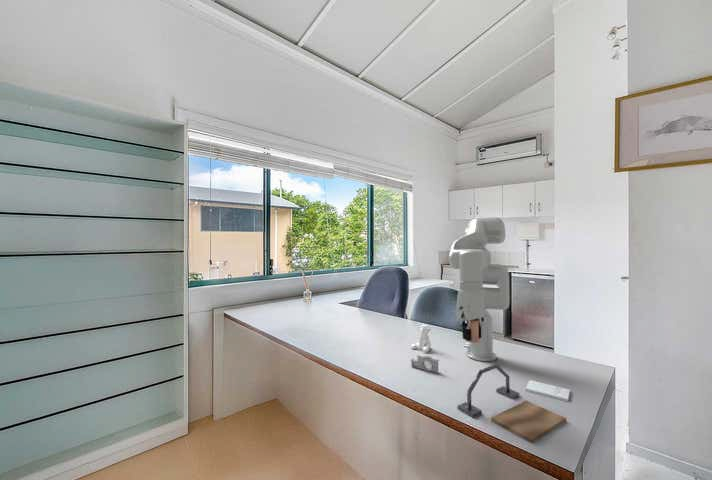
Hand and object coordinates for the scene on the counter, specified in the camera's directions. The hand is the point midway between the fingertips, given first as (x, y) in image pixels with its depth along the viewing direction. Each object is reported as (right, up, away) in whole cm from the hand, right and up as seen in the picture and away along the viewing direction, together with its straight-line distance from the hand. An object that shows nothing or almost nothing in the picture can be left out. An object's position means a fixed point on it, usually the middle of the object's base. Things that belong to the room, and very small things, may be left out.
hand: (472, 338), depth 109 cm
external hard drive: (+27, -20, +1) cm, 34 cm away
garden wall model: (-12, -20, +22) cm, 32 cm away
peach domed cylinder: (0, -1, 0) cm, 1 cm away
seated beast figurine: (-7, -20, +45) cm, 50 cm away
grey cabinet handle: (+4, -19, -5) cm, 21 cm away
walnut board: (+11, -19, -16) cm, 28 cm away
